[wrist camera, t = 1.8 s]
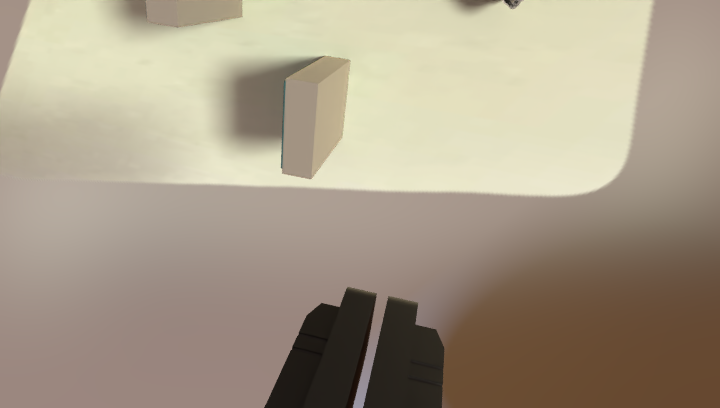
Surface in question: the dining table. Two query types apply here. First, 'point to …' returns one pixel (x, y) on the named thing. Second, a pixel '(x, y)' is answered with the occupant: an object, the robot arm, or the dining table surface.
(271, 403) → the robot arm
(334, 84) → the beige rectangular block
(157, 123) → the dining table surface
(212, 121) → the dining table surface
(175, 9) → the beige flat slab
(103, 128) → the dining table surface
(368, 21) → the dining table surface
